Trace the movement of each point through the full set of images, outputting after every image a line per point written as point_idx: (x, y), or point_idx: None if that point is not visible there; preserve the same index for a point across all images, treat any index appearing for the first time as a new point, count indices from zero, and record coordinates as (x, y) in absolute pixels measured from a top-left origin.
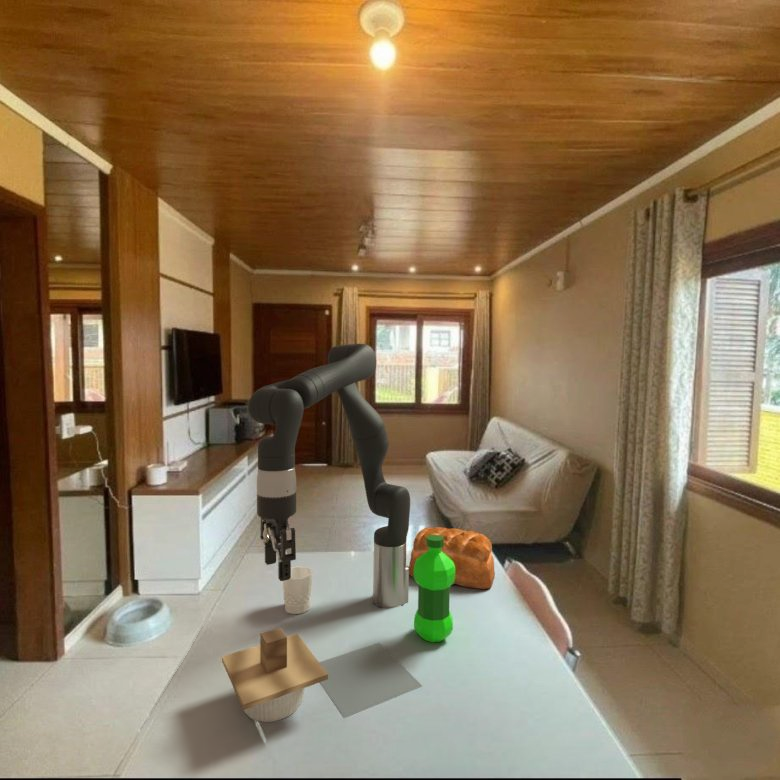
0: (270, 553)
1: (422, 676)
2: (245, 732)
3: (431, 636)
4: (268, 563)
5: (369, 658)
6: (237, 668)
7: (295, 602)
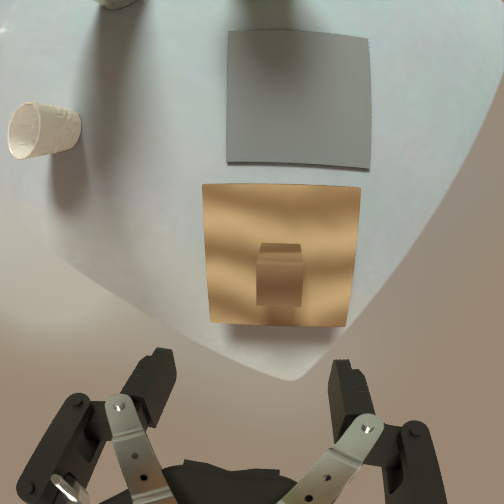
0: (160, 393)
1: (342, 23)
2: None
3: None
4: (174, 372)
5: (262, 63)
6: (256, 312)
7: (67, 137)
